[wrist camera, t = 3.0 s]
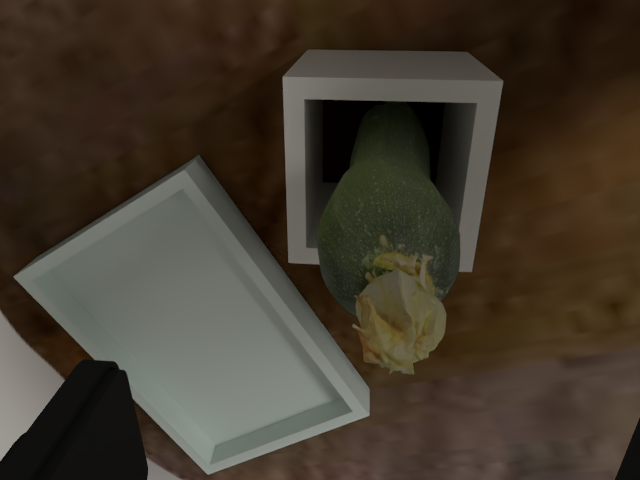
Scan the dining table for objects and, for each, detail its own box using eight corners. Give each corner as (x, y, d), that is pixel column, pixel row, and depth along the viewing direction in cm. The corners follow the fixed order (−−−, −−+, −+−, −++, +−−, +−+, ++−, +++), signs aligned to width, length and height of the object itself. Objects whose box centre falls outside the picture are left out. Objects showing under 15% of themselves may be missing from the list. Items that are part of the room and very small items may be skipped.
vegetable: (424, 163, 28) (509, 482, 10) (347, 171, 29) (302, 484, 11) (420, 81, 26) (515, 303, 8) (336, 92, 27) (262, 319, 9)
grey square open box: (307, 49, 26) (282, 76, 19) (467, 51, 25) (503, 80, 18) (309, 194, 29) (288, 262, 22) (447, 199, 29) (471, 272, 22)
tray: (36, 257, 33) (12, 276, 31) (198, 154, 29) (184, 169, 27) (216, 447, 40) (207, 474, 38) (369, 388, 36) (369, 415, 34)
